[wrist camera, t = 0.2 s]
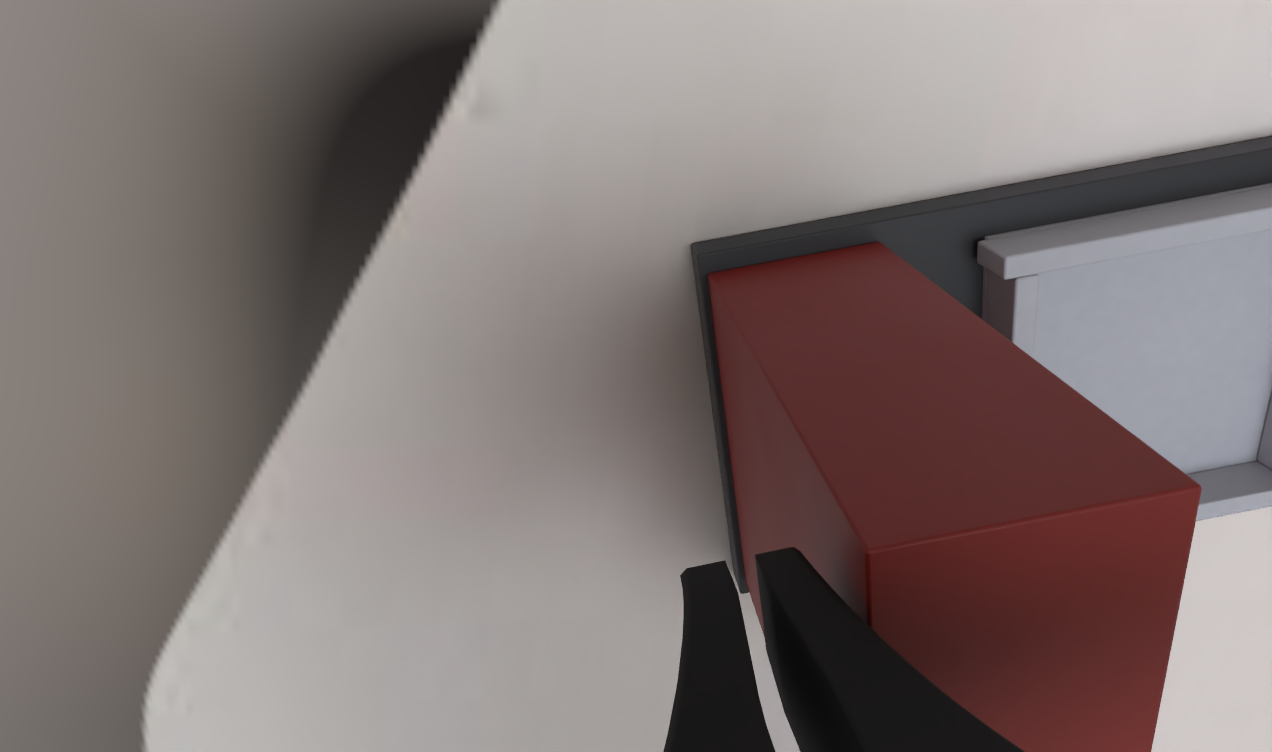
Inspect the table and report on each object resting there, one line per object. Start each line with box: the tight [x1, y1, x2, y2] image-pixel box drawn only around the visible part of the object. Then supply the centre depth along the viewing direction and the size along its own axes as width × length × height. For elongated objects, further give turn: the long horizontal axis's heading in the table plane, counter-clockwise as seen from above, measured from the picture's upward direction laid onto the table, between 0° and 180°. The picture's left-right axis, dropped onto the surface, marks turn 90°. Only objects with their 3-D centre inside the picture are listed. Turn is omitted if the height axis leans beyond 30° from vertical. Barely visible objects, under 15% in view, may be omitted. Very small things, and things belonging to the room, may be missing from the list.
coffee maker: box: [691, 136, 1272, 752], centre depth 18 cm, size 11×17×12 cm, turn 99°
